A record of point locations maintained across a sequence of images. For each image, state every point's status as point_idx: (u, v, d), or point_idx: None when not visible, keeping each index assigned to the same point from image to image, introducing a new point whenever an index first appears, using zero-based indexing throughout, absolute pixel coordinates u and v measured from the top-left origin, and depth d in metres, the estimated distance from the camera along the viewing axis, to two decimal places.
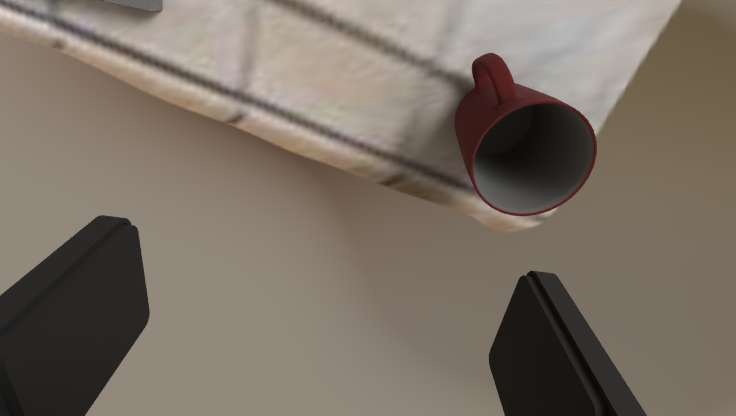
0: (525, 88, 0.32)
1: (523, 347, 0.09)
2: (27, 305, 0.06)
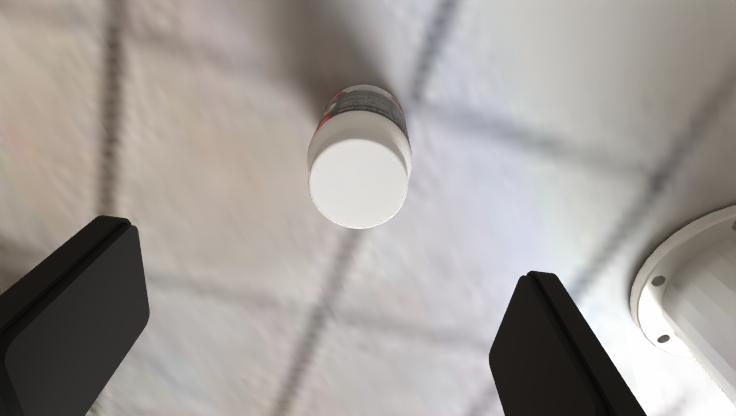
0: None
1: (523, 347, 0.09)
2: (27, 305, 0.06)
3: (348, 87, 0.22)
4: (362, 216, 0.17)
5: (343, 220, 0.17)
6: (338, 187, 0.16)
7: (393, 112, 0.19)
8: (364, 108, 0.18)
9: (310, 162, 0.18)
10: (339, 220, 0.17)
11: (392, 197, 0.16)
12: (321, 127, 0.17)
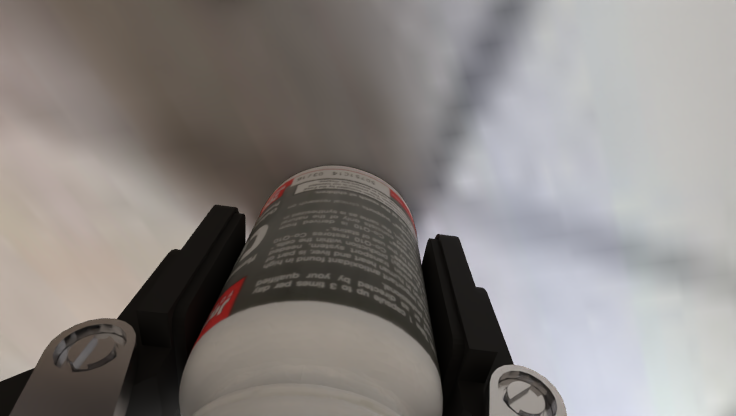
0: None
1: None
2: (189, 278, 0.08)
3: (304, 172, 0.11)
4: None
5: None
6: None
7: (395, 261, 0.08)
8: (320, 284, 0.07)
9: None
10: None
11: None
12: (204, 341, 0.07)
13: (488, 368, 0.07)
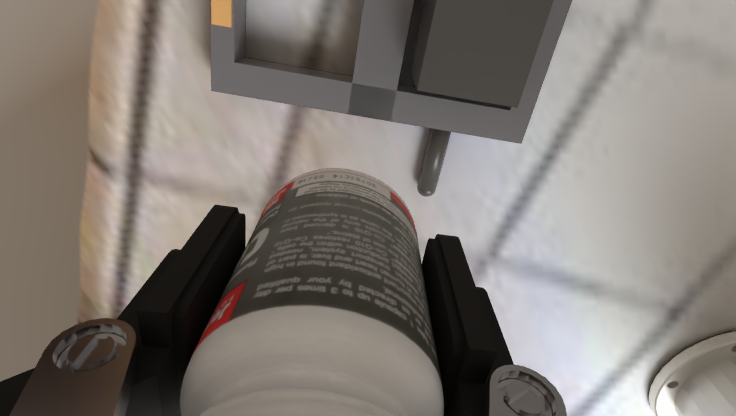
0: None
1: None
2: (189, 278, 0.08)
3: (305, 174, 0.11)
4: None
5: None
6: None
7: (396, 265, 0.08)
8: (322, 288, 0.07)
9: None
10: None
11: None
12: (206, 346, 0.07)
13: (488, 368, 0.07)
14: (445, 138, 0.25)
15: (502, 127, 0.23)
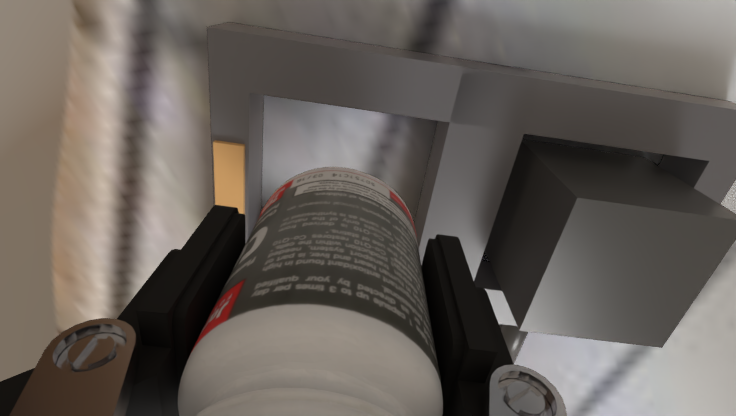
0: None
1: None
2: (189, 278, 0.08)
3: (304, 173, 0.11)
4: None
5: None
6: None
7: (394, 263, 0.08)
8: (320, 287, 0.07)
9: None
10: None
11: None
12: (203, 345, 0.07)
13: (488, 368, 0.07)
14: None
15: None
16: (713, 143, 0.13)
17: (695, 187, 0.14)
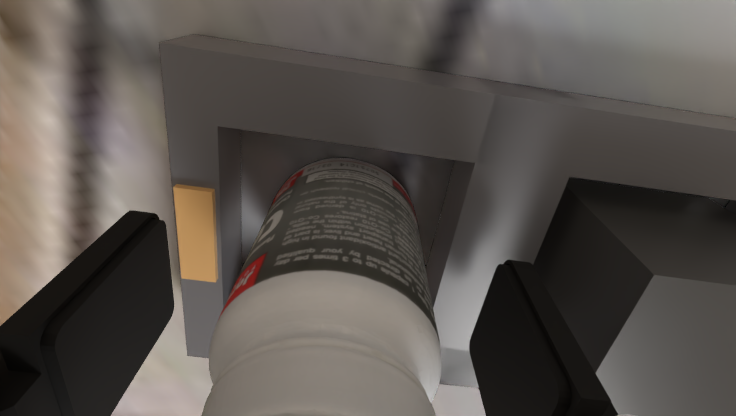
0: None
1: (498, 333, 0.09)
2: (71, 294, 0.07)
3: (313, 163, 0.12)
4: None
5: None
6: None
7: (398, 241, 0.09)
8: (334, 257, 0.08)
9: (213, 377, 0.08)
10: None
11: None
12: (233, 306, 0.07)
13: None
14: None
15: None
16: None
17: None
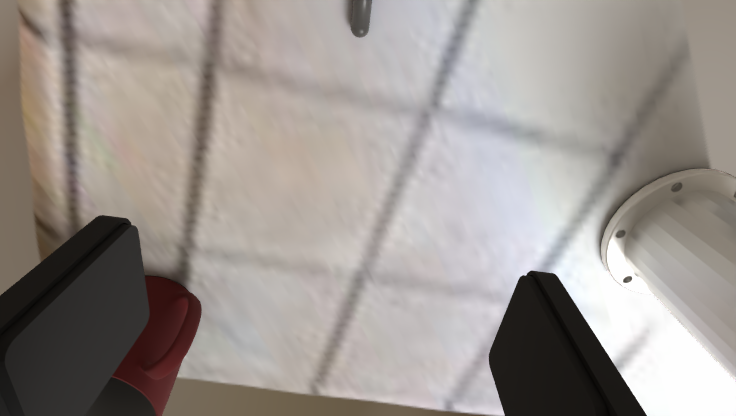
0: None
1: (523, 347, 0.09)
2: (27, 305, 0.06)
3: None
4: None
5: None
6: None
7: None
8: None
9: None
10: None
11: None
12: None
13: None
14: None
15: None
16: None
17: None
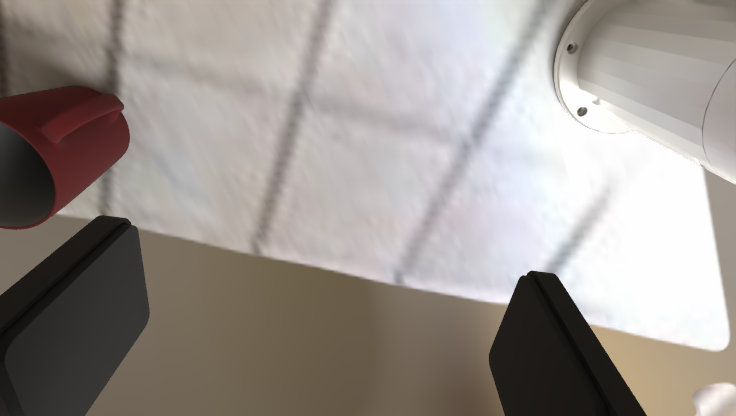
0: (95, 150, 0.32)
1: (523, 347, 0.09)
2: (27, 305, 0.06)
3: None
4: None
5: None
6: None
7: None
8: None
9: None
10: None
11: None
12: None
13: None
14: None
15: None
16: None
17: None
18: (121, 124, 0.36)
